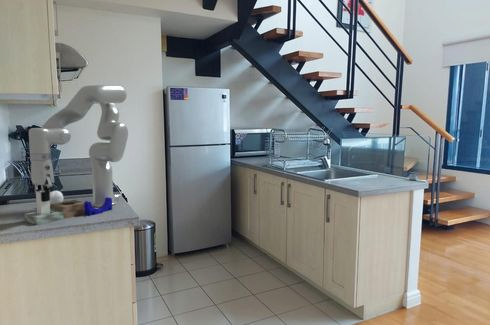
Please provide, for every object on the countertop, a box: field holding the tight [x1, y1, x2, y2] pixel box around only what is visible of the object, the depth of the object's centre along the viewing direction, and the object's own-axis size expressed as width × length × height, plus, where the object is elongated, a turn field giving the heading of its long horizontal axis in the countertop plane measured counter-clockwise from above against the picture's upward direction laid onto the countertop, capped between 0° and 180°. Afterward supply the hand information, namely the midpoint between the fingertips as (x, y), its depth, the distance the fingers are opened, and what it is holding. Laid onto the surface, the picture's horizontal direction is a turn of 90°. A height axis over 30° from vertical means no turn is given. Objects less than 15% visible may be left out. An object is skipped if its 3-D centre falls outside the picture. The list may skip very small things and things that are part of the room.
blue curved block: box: [83, 197, 113, 216], centre depth 160 cm, size 12×4×6 cm, turn 145°
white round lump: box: [50, 190, 64, 207], centre depth 171 cm, size 8×8×8 cm
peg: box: [35, 191, 51, 215], centre depth 146 cm, size 4×4×10 cm
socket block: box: [23, 199, 86, 226], centre depth 152 cm, size 22×10×5 cm, turn 147°
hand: (43, 200), depth 146 cm, fingers closed on peg, 3 cm apart
